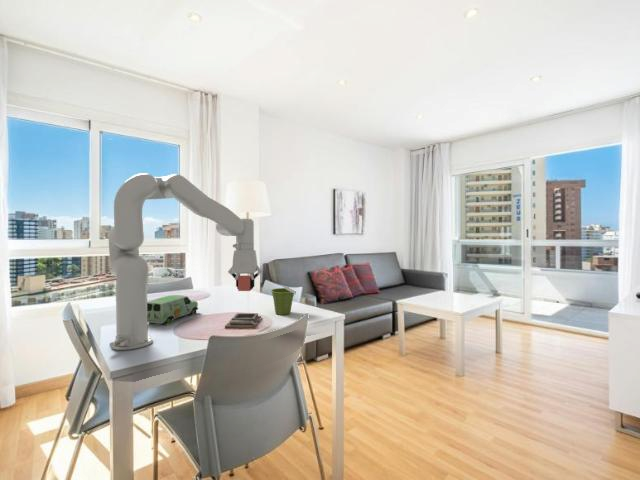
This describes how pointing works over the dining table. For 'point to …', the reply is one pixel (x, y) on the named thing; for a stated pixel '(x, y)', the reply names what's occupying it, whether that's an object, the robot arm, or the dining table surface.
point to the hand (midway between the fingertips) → (245, 288)
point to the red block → (244, 283)
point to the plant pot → (282, 300)
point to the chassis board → (243, 321)
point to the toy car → (170, 308)
